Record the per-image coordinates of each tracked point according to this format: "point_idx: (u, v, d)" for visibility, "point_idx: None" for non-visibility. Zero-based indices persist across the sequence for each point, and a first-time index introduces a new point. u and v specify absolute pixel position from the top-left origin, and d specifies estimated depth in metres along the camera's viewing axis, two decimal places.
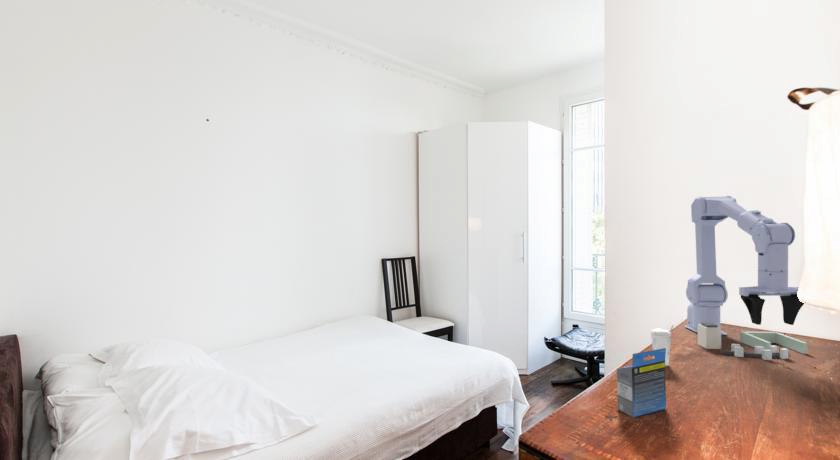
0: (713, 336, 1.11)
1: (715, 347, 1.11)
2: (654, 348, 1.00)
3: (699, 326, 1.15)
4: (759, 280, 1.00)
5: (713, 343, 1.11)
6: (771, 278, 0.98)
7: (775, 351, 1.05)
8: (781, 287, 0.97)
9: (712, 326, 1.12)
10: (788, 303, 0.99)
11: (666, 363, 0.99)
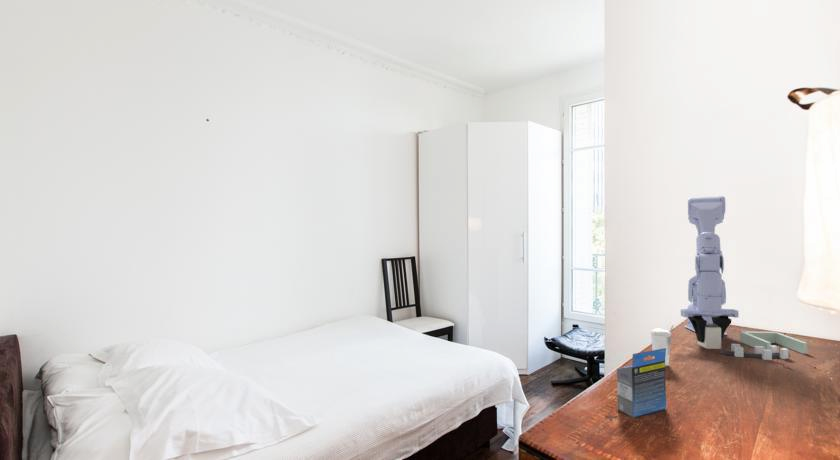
0: (713, 336, 1.11)
1: (715, 347, 1.11)
2: (654, 348, 1.00)
3: None
4: (697, 303, 1.14)
5: (713, 343, 1.11)
6: (707, 302, 1.11)
7: (775, 351, 1.05)
8: (715, 310, 1.10)
9: (712, 326, 1.12)
10: (717, 323, 1.13)
11: (666, 363, 0.99)
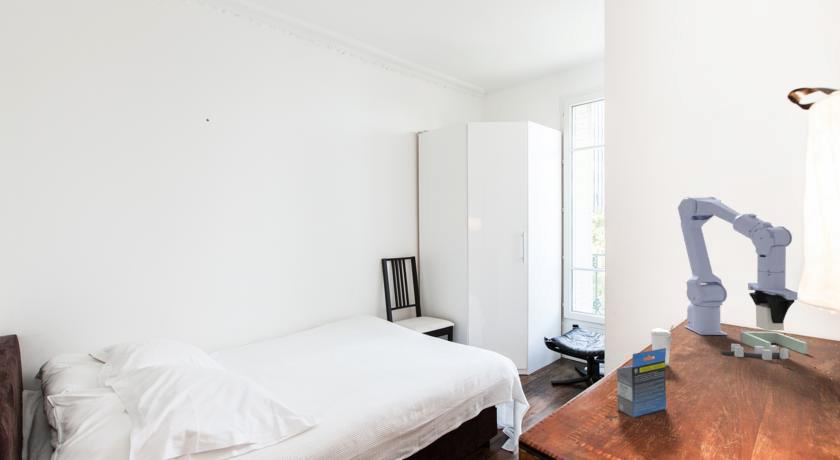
0: (761, 315, 1.07)
1: (763, 327, 1.07)
2: (654, 348, 1.00)
3: None
4: None
5: (761, 322, 1.07)
6: (757, 276, 1.09)
7: (775, 351, 1.05)
8: (759, 284, 1.07)
9: (763, 305, 1.07)
10: None
11: (666, 363, 0.99)
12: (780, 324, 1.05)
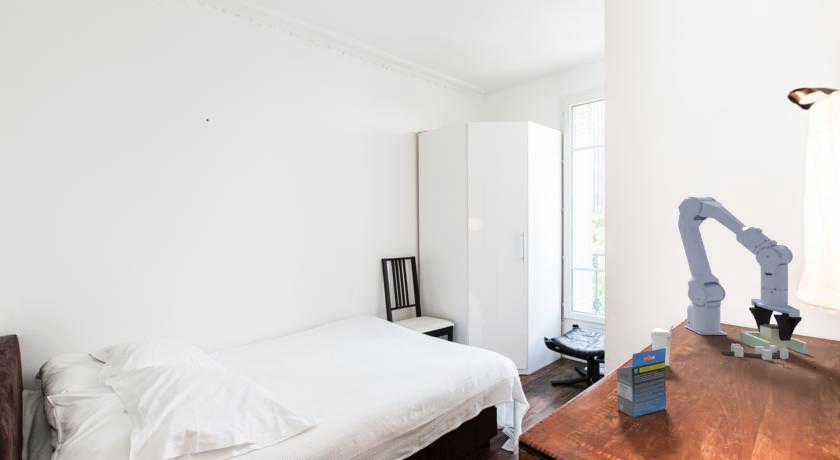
0: (765, 336, 1.11)
1: None
2: (654, 348, 1.00)
3: None
4: None
5: None
6: None
7: (775, 351, 1.05)
8: (762, 301, 1.11)
9: (767, 326, 1.11)
10: None
11: (666, 363, 0.99)
12: (783, 345, 1.09)
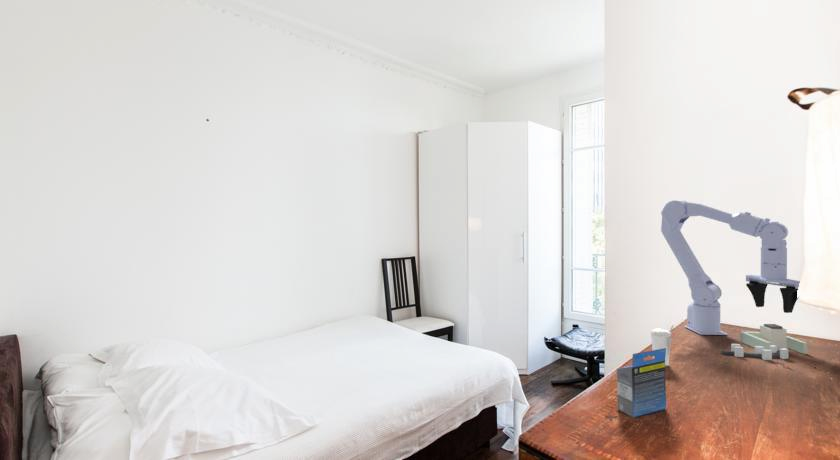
0: (765, 336, 1.11)
1: None
2: (654, 348, 1.00)
3: None
4: None
5: None
6: (761, 268, 1.16)
7: (775, 351, 1.05)
8: (765, 276, 1.14)
9: (767, 326, 1.11)
10: None
11: (666, 363, 0.99)
12: (783, 345, 1.09)
